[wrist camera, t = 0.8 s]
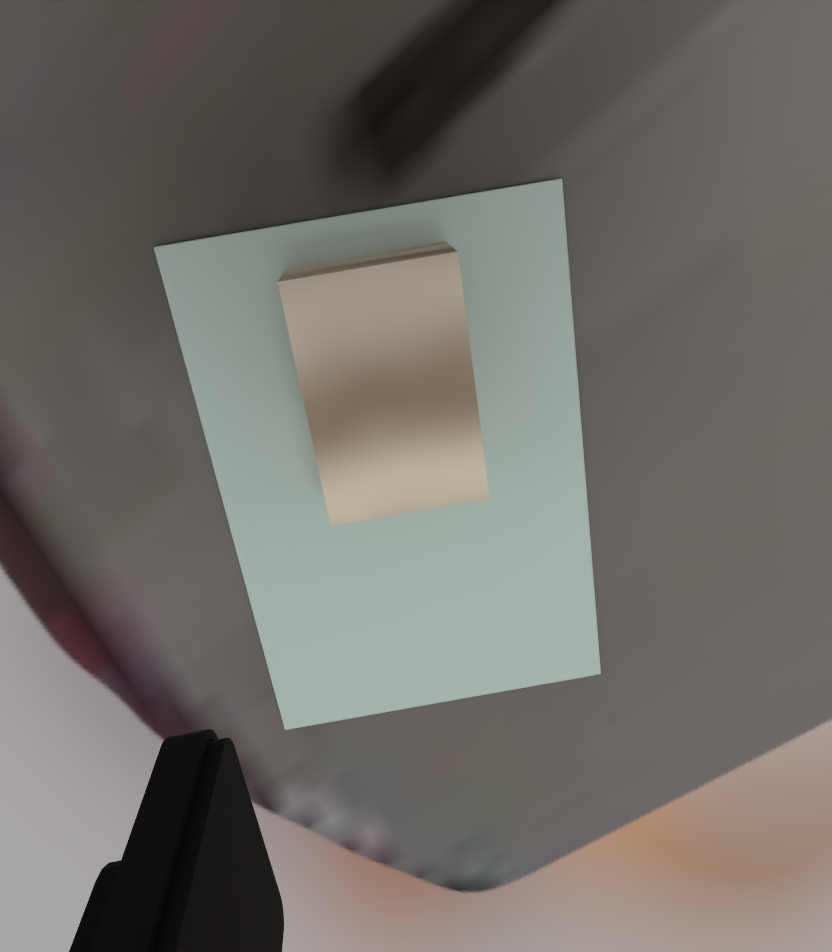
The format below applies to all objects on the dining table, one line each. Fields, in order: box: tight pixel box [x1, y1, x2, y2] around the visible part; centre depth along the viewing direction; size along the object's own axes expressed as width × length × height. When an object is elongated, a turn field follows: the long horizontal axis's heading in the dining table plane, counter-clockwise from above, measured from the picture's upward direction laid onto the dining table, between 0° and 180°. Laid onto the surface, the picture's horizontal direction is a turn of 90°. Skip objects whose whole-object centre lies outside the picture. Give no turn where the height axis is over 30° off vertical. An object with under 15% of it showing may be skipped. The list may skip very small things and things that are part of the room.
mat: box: [154, 179, 601, 730], centre depth 33 cm, size 22×15×1 cm
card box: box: [278, 242, 490, 526], centre depth 29 cm, size 9×6×4 cm, turn 8°
